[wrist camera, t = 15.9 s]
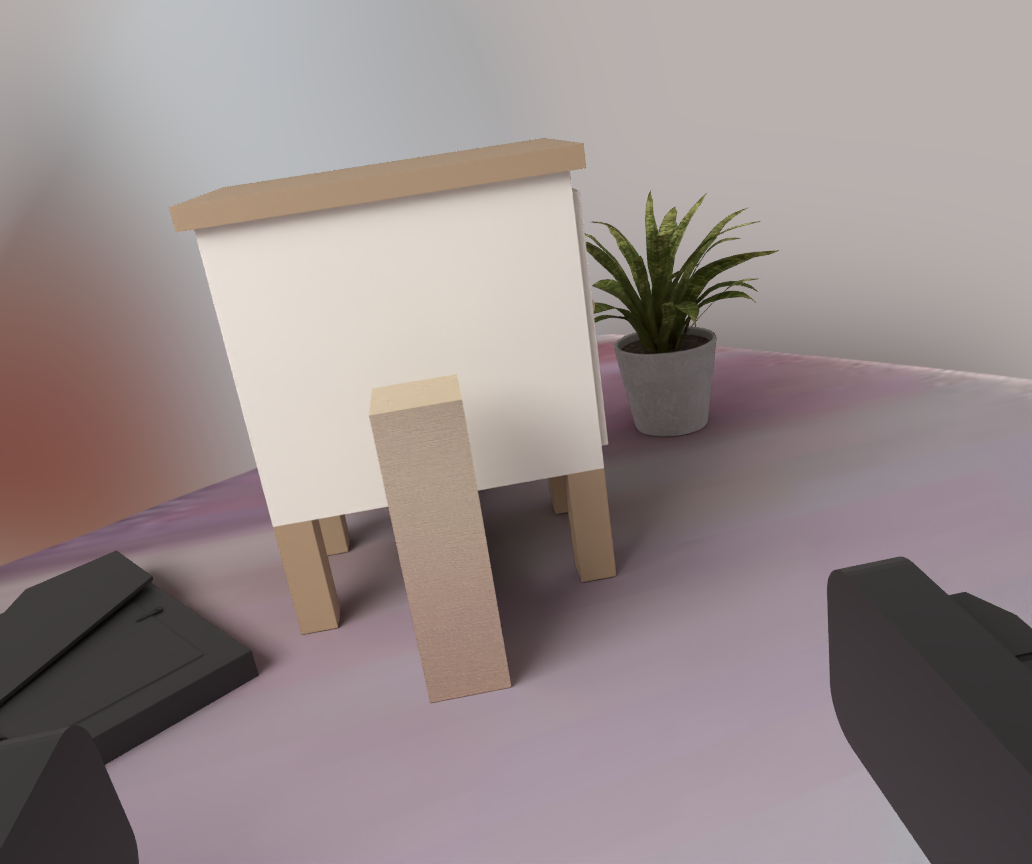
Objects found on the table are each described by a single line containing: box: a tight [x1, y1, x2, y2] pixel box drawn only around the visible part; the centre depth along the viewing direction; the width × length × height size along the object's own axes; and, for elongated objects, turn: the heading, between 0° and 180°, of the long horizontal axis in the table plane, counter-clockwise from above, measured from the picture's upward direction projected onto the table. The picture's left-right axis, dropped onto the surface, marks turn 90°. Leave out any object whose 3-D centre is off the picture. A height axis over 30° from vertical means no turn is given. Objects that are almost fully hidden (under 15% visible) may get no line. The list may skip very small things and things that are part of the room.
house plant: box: [585, 192, 777, 436], centre depth 59 cm, size 14×14×16 cm
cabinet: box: [169, 138, 616, 634], centre depth 45 cm, size 18×11×21 cm, turn 97°
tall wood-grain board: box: [369, 374, 511, 703], centre depth 44 cm, size 4×20×13 cm, turn 7°
